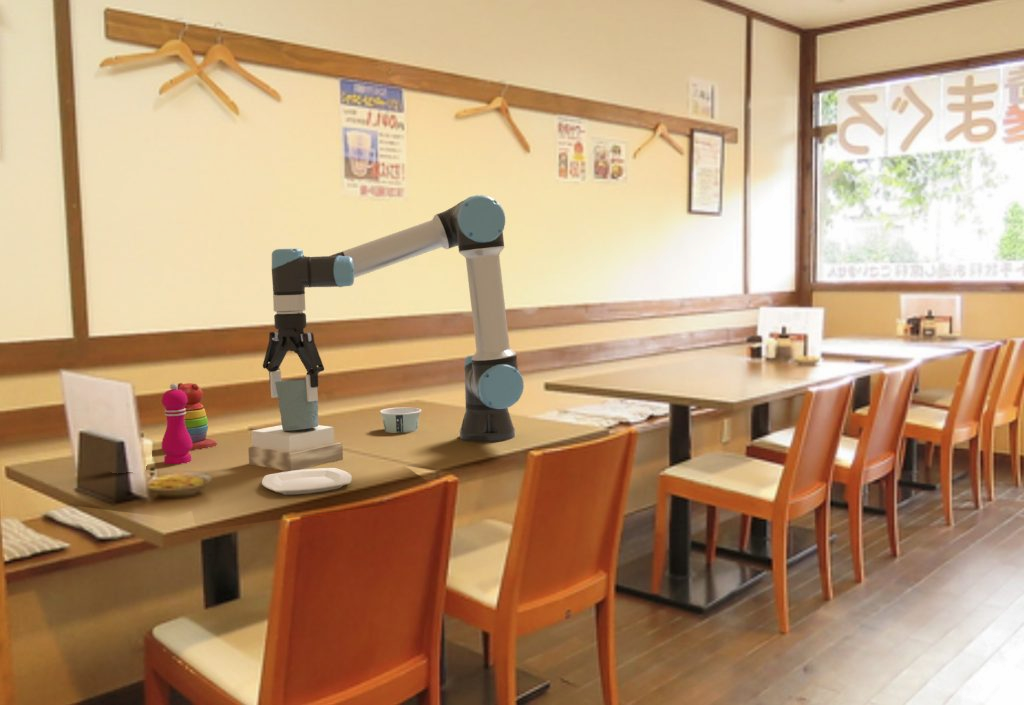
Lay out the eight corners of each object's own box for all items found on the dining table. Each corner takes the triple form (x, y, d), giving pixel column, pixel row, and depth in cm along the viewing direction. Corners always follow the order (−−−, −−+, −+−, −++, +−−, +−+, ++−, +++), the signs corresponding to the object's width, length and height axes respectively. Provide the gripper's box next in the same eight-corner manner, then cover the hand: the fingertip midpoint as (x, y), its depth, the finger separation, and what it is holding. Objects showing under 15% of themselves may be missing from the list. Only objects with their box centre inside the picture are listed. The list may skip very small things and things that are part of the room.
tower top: (334, 442, 220) (333, 427, 219) (289, 452, 208) (288, 436, 208) (296, 437, 228) (296, 422, 228) (252, 446, 217) (251, 430, 216)
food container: (424, 434, 253) (424, 412, 252) (382, 437, 250) (382, 414, 250) (418, 427, 265) (418, 406, 264) (378, 430, 262) (377, 408, 261)
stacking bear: (220, 445, 242) (217, 381, 241) (193, 452, 233) (189, 385, 232) (190, 443, 247) (187, 380, 245) (162, 450, 238) (159, 384, 236)
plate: (268, 502, 182) (268, 493, 182) (256, 482, 200) (256, 474, 199) (360, 491, 189) (360, 482, 189) (341, 473, 207) (340, 465, 207)
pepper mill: (157, 463, 221) (152, 383, 219) (184, 458, 227) (180, 380, 225) (170, 466, 216) (166, 385, 215) (198, 461, 222) (194, 382, 220)
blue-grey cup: (282, 428, 220) (277, 380, 220) (324, 423, 222) (318, 376, 221) (278, 432, 210) (272, 382, 210) (321, 427, 212) (316, 377, 211)
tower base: (343, 462, 220) (342, 443, 219) (291, 475, 207) (290, 454, 207) (301, 455, 229) (300, 436, 229) (249, 467, 217) (248, 447, 216)
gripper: (336, 312, 210) (340, 400, 212) (270, 311, 226) (274, 393, 227) (311, 313, 204) (315, 404, 206) (245, 313, 220) (250, 397, 222)
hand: (294, 399), depth 217 cm, fingers open, 13 cm apart
